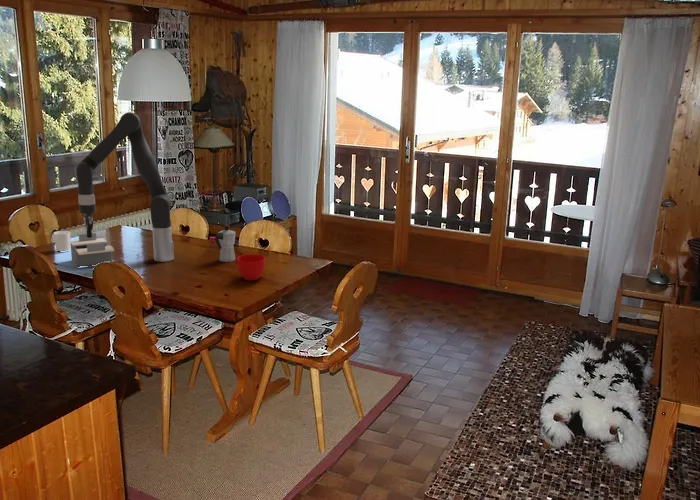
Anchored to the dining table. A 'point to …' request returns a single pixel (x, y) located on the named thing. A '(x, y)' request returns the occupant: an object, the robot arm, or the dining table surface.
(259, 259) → the ceramic cup
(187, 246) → the dining table surface
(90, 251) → the near panel
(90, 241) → the far panel
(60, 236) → the white cup
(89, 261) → the box
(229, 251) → the coffee maker
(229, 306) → the dining table surface
